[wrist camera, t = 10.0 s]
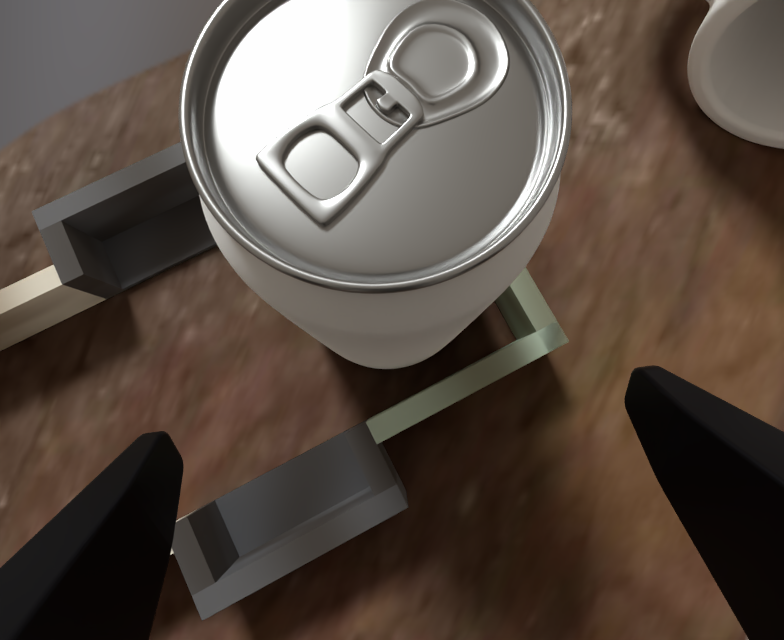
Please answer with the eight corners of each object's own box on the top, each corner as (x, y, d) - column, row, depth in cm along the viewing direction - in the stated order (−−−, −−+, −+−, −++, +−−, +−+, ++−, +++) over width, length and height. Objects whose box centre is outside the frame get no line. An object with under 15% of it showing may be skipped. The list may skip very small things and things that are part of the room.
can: (501, 290, 18) (698, 100, 6) (385, 405, 18) (369, 430, 6) (387, 182, 19) (378, -166, 7) (272, 288, 18) (53, 97, 6)
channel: (38, 691, 16) (-27, 746, 14) (-95, 318, 18) (-172, 306, 16) (573, 399, 18) (603, 400, 15) (393, 86, 20) (393, 42, 17)
